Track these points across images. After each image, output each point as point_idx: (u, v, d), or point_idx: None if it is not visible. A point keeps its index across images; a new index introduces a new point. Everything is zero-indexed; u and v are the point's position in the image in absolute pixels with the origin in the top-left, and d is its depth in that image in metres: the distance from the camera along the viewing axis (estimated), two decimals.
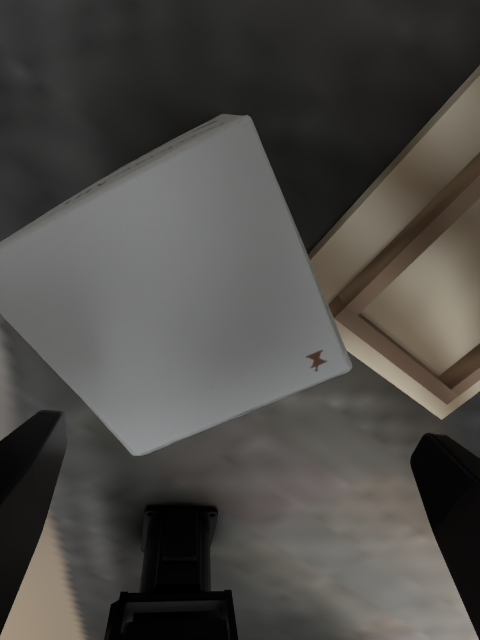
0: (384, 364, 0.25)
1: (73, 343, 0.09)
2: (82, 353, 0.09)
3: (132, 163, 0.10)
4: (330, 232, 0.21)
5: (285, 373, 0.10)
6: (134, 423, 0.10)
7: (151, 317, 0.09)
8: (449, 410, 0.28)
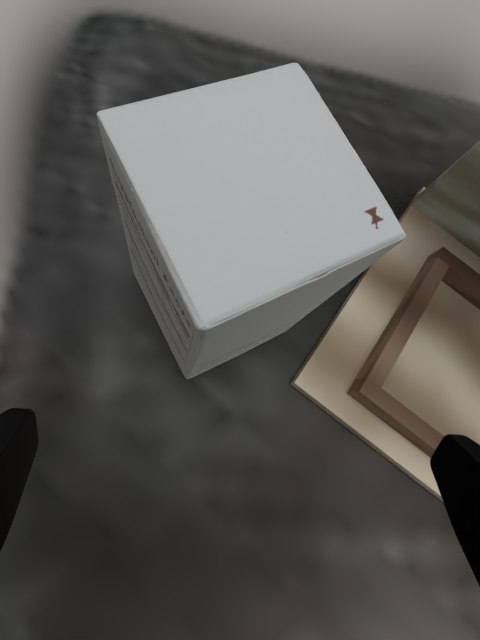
0: (430, 472, 0.22)
1: (166, 174, 0.10)
2: (172, 185, 0.10)
3: None
4: (331, 322, 0.24)
5: (350, 226, 0.11)
6: (208, 272, 0.10)
7: (236, 159, 0.11)
8: None
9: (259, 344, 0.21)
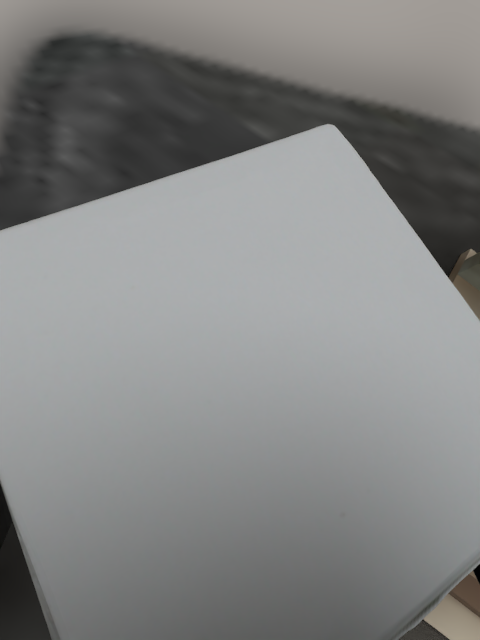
0: None
1: (66, 397, 0.04)
2: (79, 425, 0.04)
3: None
4: None
5: (475, 470, 0.05)
6: None
7: (224, 341, 0.05)
8: None
9: None
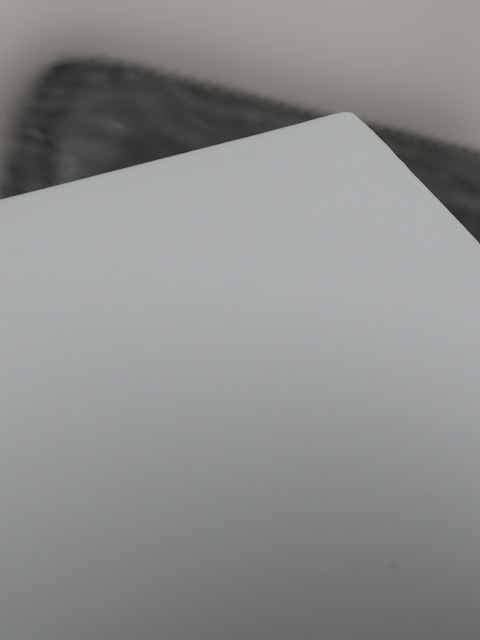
0: None
1: (22, 393, 0.03)
2: (35, 428, 0.03)
3: None
4: None
5: None
6: None
7: (228, 329, 0.04)
8: None
9: None
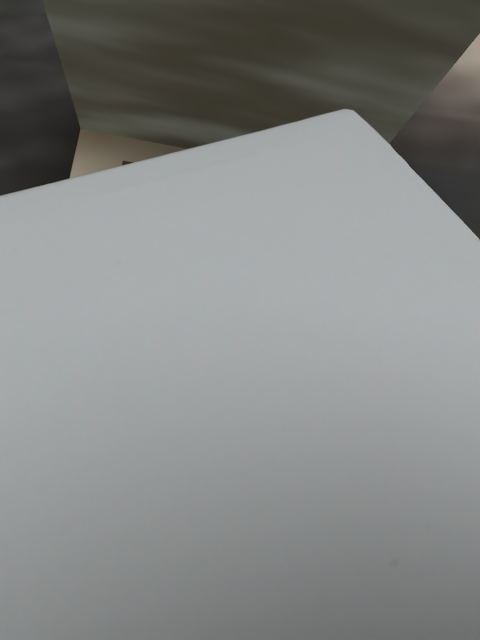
0: None
1: (20, 389, 0.03)
2: (33, 425, 0.03)
3: None
4: None
5: None
6: None
7: (228, 325, 0.04)
8: None
9: None
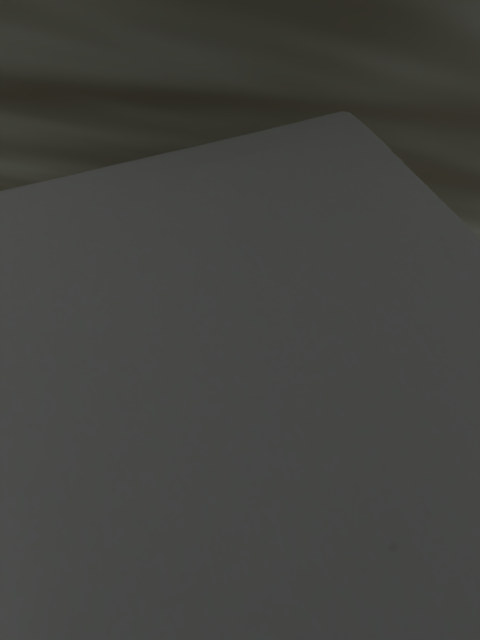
0: None
1: (20, 373, 0.03)
2: (31, 407, 0.03)
3: None
4: None
5: None
6: None
7: (226, 313, 0.04)
8: None
9: None
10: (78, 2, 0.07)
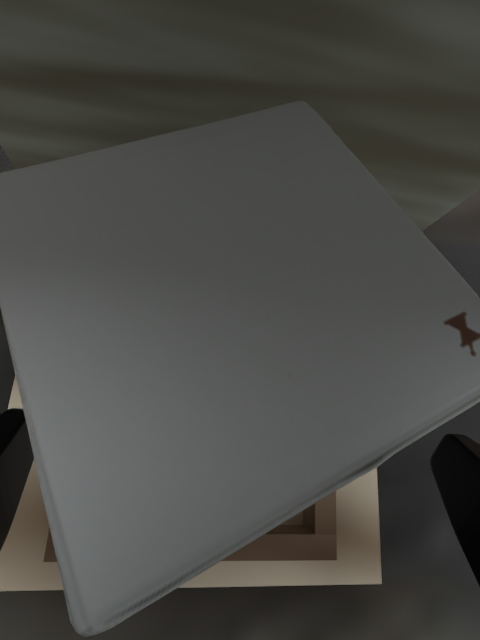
0: None
1: (64, 274, 0.06)
2: (72, 294, 0.05)
3: None
4: None
5: (420, 353, 0.05)
6: (116, 476, 0.04)
7: (196, 242, 0.06)
8: (375, 560, 0.18)
9: None
10: (108, 7, 0.09)
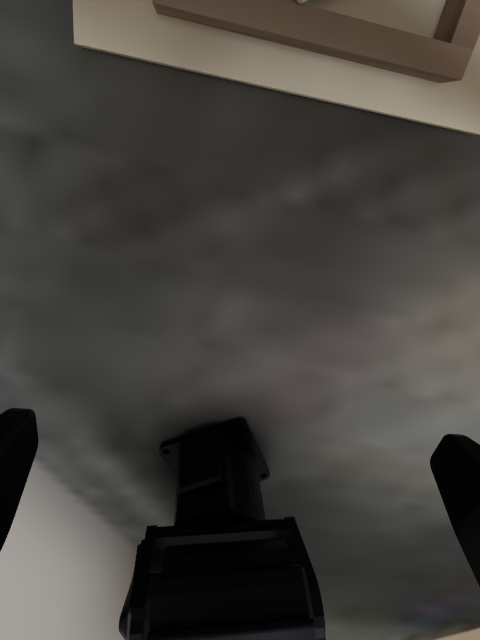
0: (320, 75, 0.15)
1: None
2: None
3: None
4: None
5: None
6: None
7: None
8: None
9: None
10: None
